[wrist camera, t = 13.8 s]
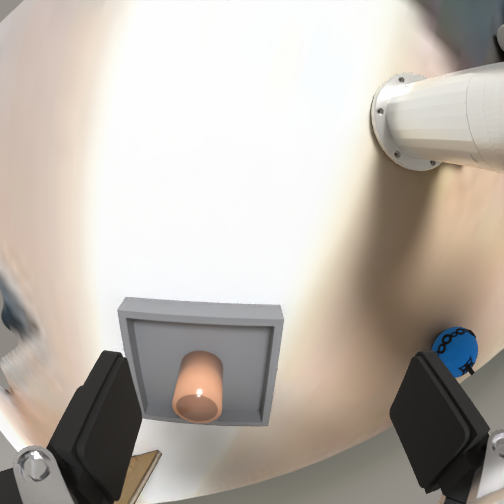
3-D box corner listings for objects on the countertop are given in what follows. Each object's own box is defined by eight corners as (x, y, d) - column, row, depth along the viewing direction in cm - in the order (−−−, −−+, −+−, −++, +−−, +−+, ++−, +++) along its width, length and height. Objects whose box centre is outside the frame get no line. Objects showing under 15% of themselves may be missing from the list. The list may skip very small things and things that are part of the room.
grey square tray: (280, 305, 39) (284, 319, 36) (266, 410, 45) (268, 425, 42) (126, 296, 38) (117, 309, 34) (144, 402, 44) (139, 417, 41)
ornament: (414, 343, 43) (443, 382, 34) (452, 307, 41) (487, 339, 32) (432, 366, 45) (458, 402, 36) (466, 333, 44) (497, 365, 34)
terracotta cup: (223, 351, 40) (222, 393, 32) (223, 383, 42) (221, 424, 34) (179, 349, 39) (169, 389, 32) (182, 381, 41) (174, 421, 34)
